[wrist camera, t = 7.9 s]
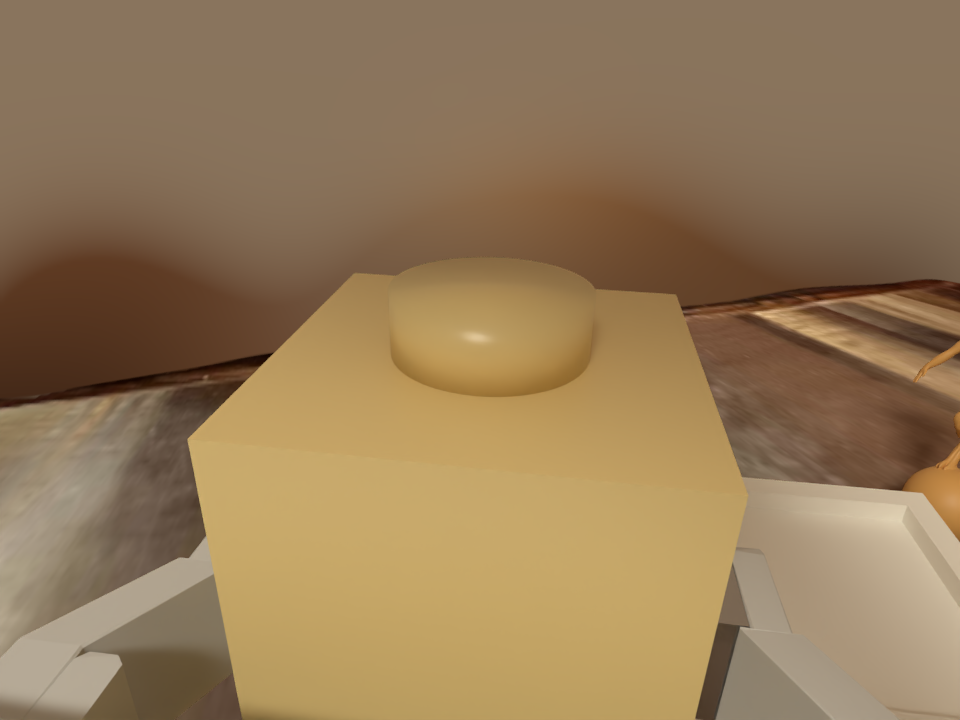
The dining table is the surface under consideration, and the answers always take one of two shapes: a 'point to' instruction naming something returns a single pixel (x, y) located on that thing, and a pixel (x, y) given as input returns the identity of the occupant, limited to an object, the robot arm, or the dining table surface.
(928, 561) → the cream tray on base
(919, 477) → the figurine
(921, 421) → the dining table surface
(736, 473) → the tall brick
